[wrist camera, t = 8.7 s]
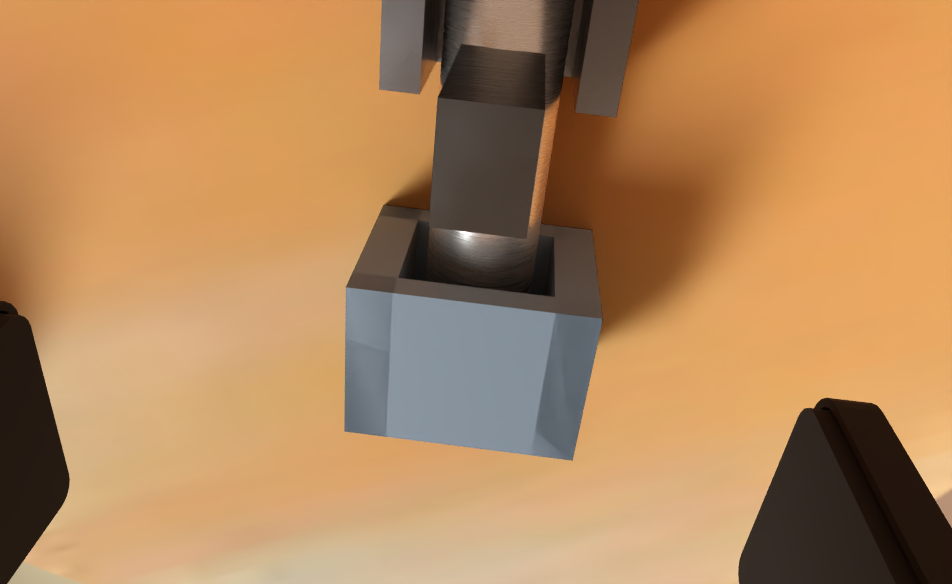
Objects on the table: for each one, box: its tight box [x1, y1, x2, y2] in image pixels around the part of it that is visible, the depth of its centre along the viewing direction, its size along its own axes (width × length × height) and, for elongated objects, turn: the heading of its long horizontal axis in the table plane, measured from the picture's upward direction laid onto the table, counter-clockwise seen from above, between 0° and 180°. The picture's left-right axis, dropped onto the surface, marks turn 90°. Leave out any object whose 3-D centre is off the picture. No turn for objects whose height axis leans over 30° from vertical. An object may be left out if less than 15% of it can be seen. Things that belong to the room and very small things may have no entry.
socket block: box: [345, 205, 603, 461], centre depth 28 cm, size 6×8×6 cm
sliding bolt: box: [426, 0, 575, 294], centre depth 23 cm, size 14×4×9 cm, turn 175°
